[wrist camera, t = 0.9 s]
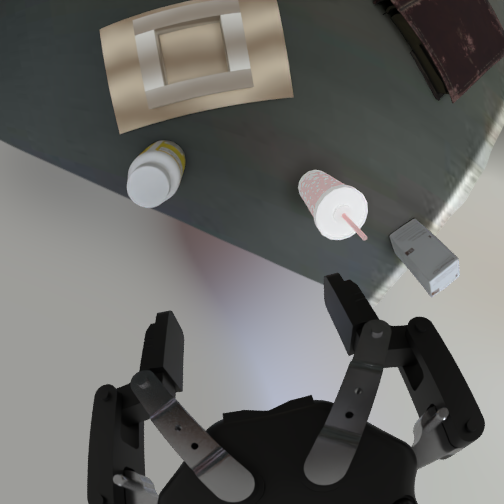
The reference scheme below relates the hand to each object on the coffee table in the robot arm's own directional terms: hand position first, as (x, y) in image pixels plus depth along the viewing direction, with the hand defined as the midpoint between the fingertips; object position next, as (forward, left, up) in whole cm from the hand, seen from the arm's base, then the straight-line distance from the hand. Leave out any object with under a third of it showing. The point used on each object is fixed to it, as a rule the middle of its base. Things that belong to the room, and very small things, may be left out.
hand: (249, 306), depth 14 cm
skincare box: (+14, +27, -23) cm, 38 cm away
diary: (-23, +38, -23) cm, 50 cm away
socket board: (-16, -1, -23) cm, 27 cm away
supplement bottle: (-4, -7, -23) cm, 24 cm away
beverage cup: (+3, +11, -23) cm, 26 cm away
